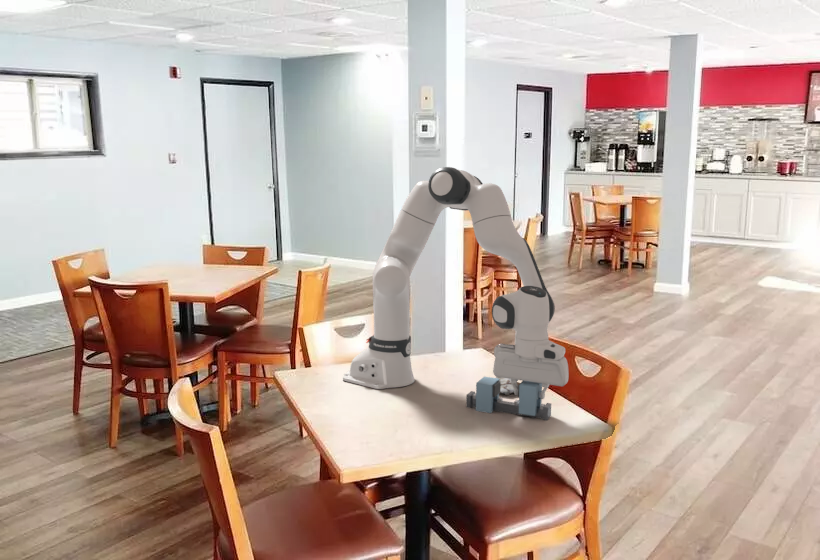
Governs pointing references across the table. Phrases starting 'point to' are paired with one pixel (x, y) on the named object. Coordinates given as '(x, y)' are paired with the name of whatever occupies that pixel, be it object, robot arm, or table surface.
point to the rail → (510, 406)
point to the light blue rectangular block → (487, 393)
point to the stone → (506, 386)
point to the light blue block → (529, 397)
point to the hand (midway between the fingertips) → (529, 396)
